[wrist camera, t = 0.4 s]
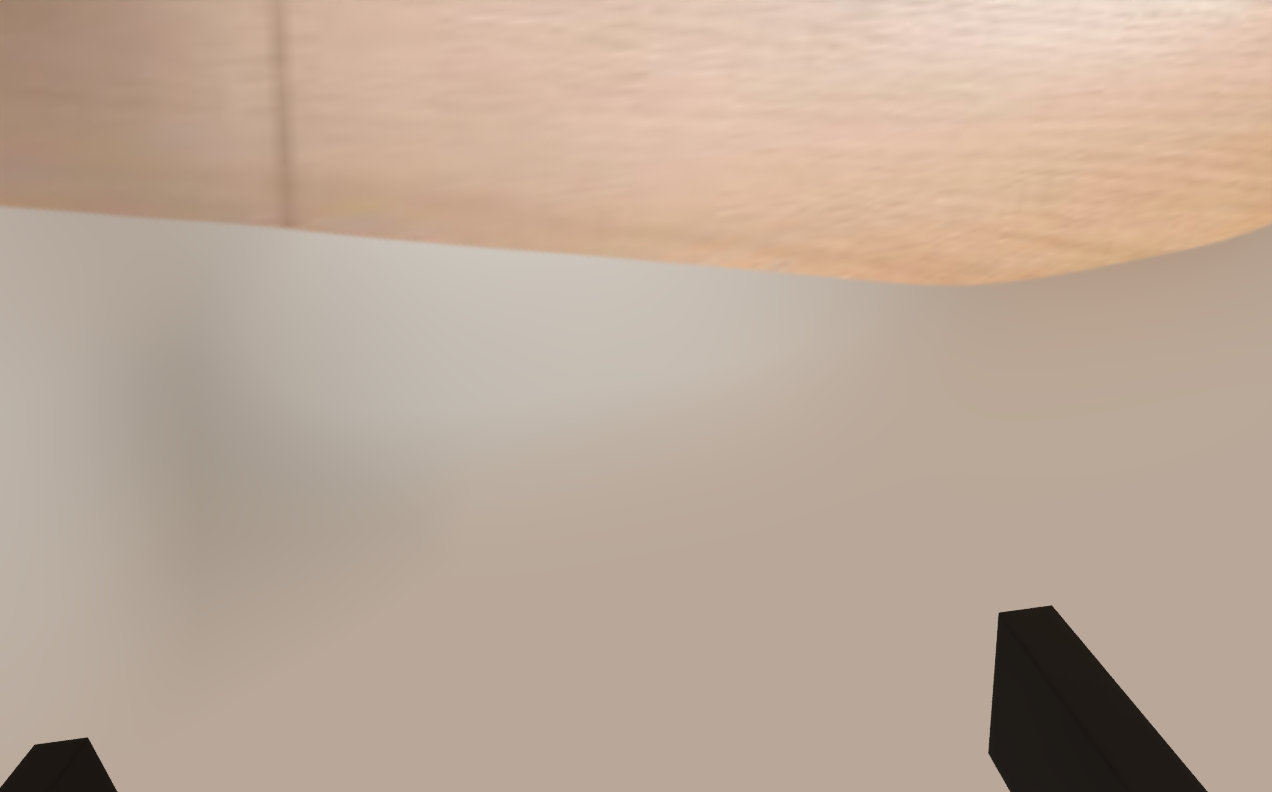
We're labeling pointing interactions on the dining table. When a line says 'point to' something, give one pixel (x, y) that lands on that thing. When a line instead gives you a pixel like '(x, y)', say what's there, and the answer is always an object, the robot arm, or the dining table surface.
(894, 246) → the dining table surface
